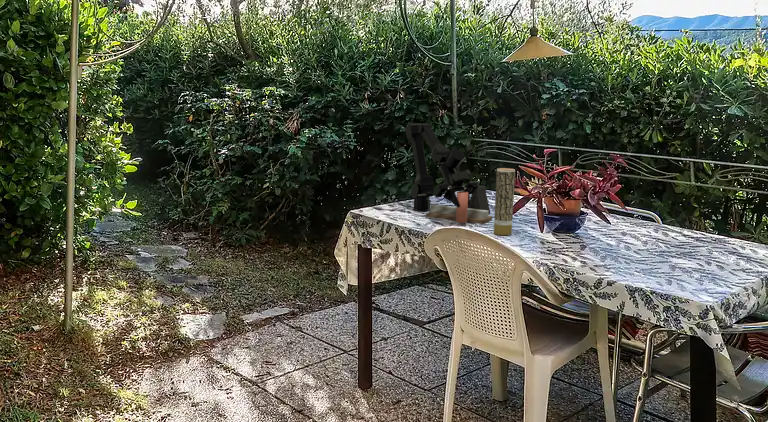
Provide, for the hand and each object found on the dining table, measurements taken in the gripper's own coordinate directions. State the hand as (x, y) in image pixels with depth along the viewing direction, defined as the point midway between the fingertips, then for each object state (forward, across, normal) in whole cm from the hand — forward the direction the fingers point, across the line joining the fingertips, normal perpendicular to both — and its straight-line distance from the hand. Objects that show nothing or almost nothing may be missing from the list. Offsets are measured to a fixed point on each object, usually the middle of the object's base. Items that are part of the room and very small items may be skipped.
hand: (464, 206), depth 263 cm
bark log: (+19, +6, -7) cm, 21 cm away
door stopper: (-7, +20, +19) cm, 29 cm away
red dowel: (+4, 0, +6) cm, 7 cm away
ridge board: (-3, +6, +14) cm, 16 cm away
